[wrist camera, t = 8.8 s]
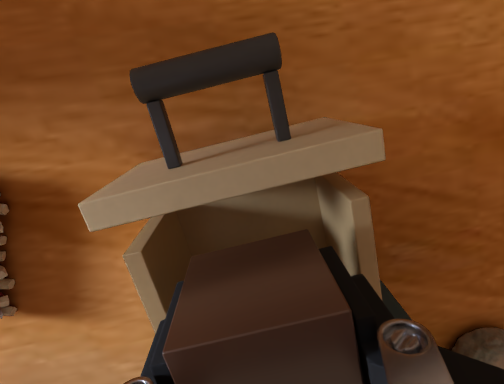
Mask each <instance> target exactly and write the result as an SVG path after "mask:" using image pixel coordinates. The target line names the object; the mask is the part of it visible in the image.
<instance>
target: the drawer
mask: <svg viewBox="0 0 504 384" xmlns="http://www.w3.org/2000/svg"><path fill="white" fill-rule="evenodd" d="M281 66H282V58H281V51H280V46H279V42H278V38H277V36H276V34H275V33H269V34H265V35H261V36H257V37H253V38H249V39H246V40H242V41H238V42H234V43H230V44H226V45H222V46H219V47H215V48H211V49H207V50H203V51H199V52H195V53H192V54H188V55H184V56H180V57H176V58H172V59H168V60H165V61H161V62H157V63H153V64H149V65H145V66H142V67H138V68H134V69H131V70H130V81H131V85H132V88H133V90H134V93H135V95H136V96H137V98H138V99H139V101H140V102H141V103H143V104H146V103H147V108H148V111H149V114H150V117H151V120H152V123H153V126H154V129H155V132H156V135H157V138H158V141H159V144H160V147H161V150H162V153H163V156H164V157H163V158H159V159H155V160H151V161H147V162H143V163H140V164H138V165H137V166H135V167H134V168H132V169H131V170H129V171H128V172H126V173H125V174H123V175H122V176H120V177H118V178H117V179H115V180H114V181H112V182H111V183H109V184H108V185H106V186H105V187H103V188H102V189H100V190H98V191H97V192H95V193H94V194H92V195H91V196H89V197H88V198H86V199H85V200H83V201H82V202H80V203H79V204H78V207H79V209H80V211H81V213H82V215H83V218H84V220H85V222H86V224H87V227H88V229H89V231H90V232H94V231H98V230H102V229H106V228H110V227H114V226H118V225H122V224H126V223H130V222H134V221H138V220H143V219H147V218H150V219H149V221H148V222H147V223H146V225H145V226H144V227H143V229H142V230H141V231H140V233H139V234H138V236H137V237H136V238H135V240H134V241H133V242H132V244H131V245H130V246H129V248H128V249H127V250H126V252H125V253H124V254H123V258H124V261H125V263H126V266H127V268H128V270H129V273H130V275H131V277H132V280H133V282H134V284H135V287H136V289H137V291H138V294H139V296H140V299H141V301H142V303H143V306H144V308H145V310H146V313H147V315H148V317H149V320H150V322H151V324H152V327H153V329H154V332H155V334H156V331H157V329H158V326H159V323H160V321H162V320H164V319H165V318H166V315H167V312H168V309H169V306H170V303H171V300H172V297H173V294H174V291H175V288H176V285H177V283H178V282H180V281H184V279H185V276H186V273H187V269H188V266H189V263H190V259H191V257H192V256H196V255H200V254H204V253H208V252H212V251H217V250H221V249H225V248H229V247H233V246H238V245H242V244H246V243H250V242H254V241H259V240H263V239H267V238H271V237H275V236H280V235H284V234H288V233H292V232H296V231H301V230H305V229H308V230H309V232H310V234H311V236H312V238H313V240H314V241H315V243H316V245H317V247H318V249H320V248H324V247H328V246H332V247H333V249H334V250H335V252H336V253H337V255H338V257H339V258H340V260H341V261H342V263H343V265H344V266H345V268H346V269H347V271H348V272H349V274H350V276H353V275H357V274H363V275H364V276H365V277H366V279H367V280H368V282H369V283H370V284H371V286H372V287H373V289H374V290H375V292H376V293H377V294H378V296H379V297H380V299H381V300H382V294H381V287H380V279H379V271H378V263H377V255H376V247H375V239H374V231H373V224H372V216H371V208H370V200H369V196H368V195H366V194H365V193H364V192H362V191H361V190H360V189H358V188H357V187H355V186H354V185H353V184H351V183H350V182H349V181H347V180H346V179H345V178H343V177H342V176H341V175H339V174H338V173H337V172H339V171H343V170H347V169H351V168H355V167H359V166H363V165H368V164H372V163H376V162H380V161H384V160H385V159H386V157H385V148H384V138H383V130H382V129H381V128H376V127H371V126H366V125H361V124H356V123H351V122H346V121H341V120H336V119H331V118H326V117H323V118H319V119H315V120H311V121H307V122H303V123H299V124H295V125H291V126H289V124H288V119H287V114H286V109H285V104H284V99H283V94H282V89H281V84H280V79H279V74H278V71H277V70H279V69H281ZM263 73H264V74H263ZM259 74H263V79H264V84H265V88H266V93H267V98H268V102H269V107H270V112H271V116H272V121H273V126H274V130H271V131H267V132H263V133H259V134H255V135H251V136H247V137H243V138H239V139H235V140H231V141H227V142H223V143H219V144H215V145H211V146H207V147H203V148H199V149H195V150H191V151H187V152H183V153H179V150H178V147H177V144H176V140H175V137H174V134H173V131H172V128H171V125H170V122H169V119H168V115H167V112H166V109H165V106H164V103H163V101H162V99H166V98H170V97H173V96H177V95H181V94H185V93H189V92H193V91H197V90H201V89H205V88H209V87H213V86H216V85H220V84H224V83H228V82H232V81H236V80H240V79H244V78H248V77H252V76H256V75H259Z"/></svg>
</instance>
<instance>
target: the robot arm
mask: <svg viewBox="0 0 504 384" xmlns="http://www.w3.org/2000/svg"><path fill="white" fill-rule="evenodd" d="M319 251H320V253H321V254H322V256H323V258H324V260H325V262H326V264H327V266H328V268H329V269H330V271H331V273H332V275H333V277H334V279H335V281H336V282H337V284H338V286H339V288H340V290H341V292H342V294H343V296H344V297H345V299H346V301H347V303H348V305H349V307H350V309H351V311H352V317H353V323H354V329H355V334H356V340H357V346H358V352H359V358H360V364H361V370H362V376H363V382H364V384H504V369H502V368H499V367H496V366H493V365H490V364H488V363H485V362H482V361H479V360H476V359H473V358H470V357H468V356H465V355H462V354H459V353H456V352H453V351H450V350H448V349H445V348H442V347H439V346H437V345H436V342H435V340H434V338H433V336H432V335H431V333H430V332H429V330H428V329H426V328H425V327H424V326H423V325H421V324H419V323H417V322H415V321H412V320H408V319H395V318H394V317H393V315H392V314H391V313H390V311H389V310H388V308H387V307H386V306H385V304H384V303H383V301H382V300H381V299H380V297H379V296H378V294H377V293H376V292H375V290H374V289H373V287H372V286H371V284H370V283H369V282H368V280H367V279H366V277H365V276H364V275H363V274H357V275H353V276H350V274H349V272H348V271H347V269H346V268H345V266H344V265H343V263H342V261H341V260H340V258H339V257H338V255H337V253H336V252H335V250H334V249H333V247H332V246H328V247H324V248H320V249H319ZM183 282H184V281H180V282H178V283H177V285H176V288H175V291H174V294H173V297H172V300H171V303H170V306H169V309H168V312H167V315H166V318H165V319H164V320H162V321H160V323H159V326H158V329H157V331H156V334H155V337H154V340H153V343H152V345H151V348H150V351H149V354H148V357H147V360H146V362H145V365H144V368H143V371H142V374H141V376H140V377H136V378H133V379H131V380H129V381H127V382H125V383H124V384H175V383H174V381H173V378H172V376H171V374H170V371H169V369H168V367H167V364H166V362H165V360H164V357H163V355H162V352H163V349H164V345H165V342H166V339H167V335H168V332H169V329H170V325H171V322H172V319H173V315H174V312H175V309H176V306H177V302H178V299H179V296H180V292H181V289H182V286H183Z"/></svg>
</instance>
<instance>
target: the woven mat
mask: <svg viewBox="0 0 504 384" xmlns="http://www.w3.org/2000/svg"><path fill="white" fill-rule="evenodd" d="M0 196H1V193H0ZM8 212H9V209H8V206H7V204H0V215H6V214H7V213H8ZM0 233H3V225H2V223H1V222H0ZM6 241H7V237H6V236H1V235H0V245H3V244H6ZM5 257H6V251H0V261H4V260H5ZM7 275H8V274H7V272H6V270H5V268H4V267H3V266H0V289H12V288H13V286H14V284H15V281H14V279H3V278H4V277H6V276H7ZM16 310H17V308H15V307H12V306H9V298H8V295H6V296H3V294H2V293H1V292H0V318H1V319H2V316H3V315H4V316H14V314H15V312H16Z"/></svg>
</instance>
